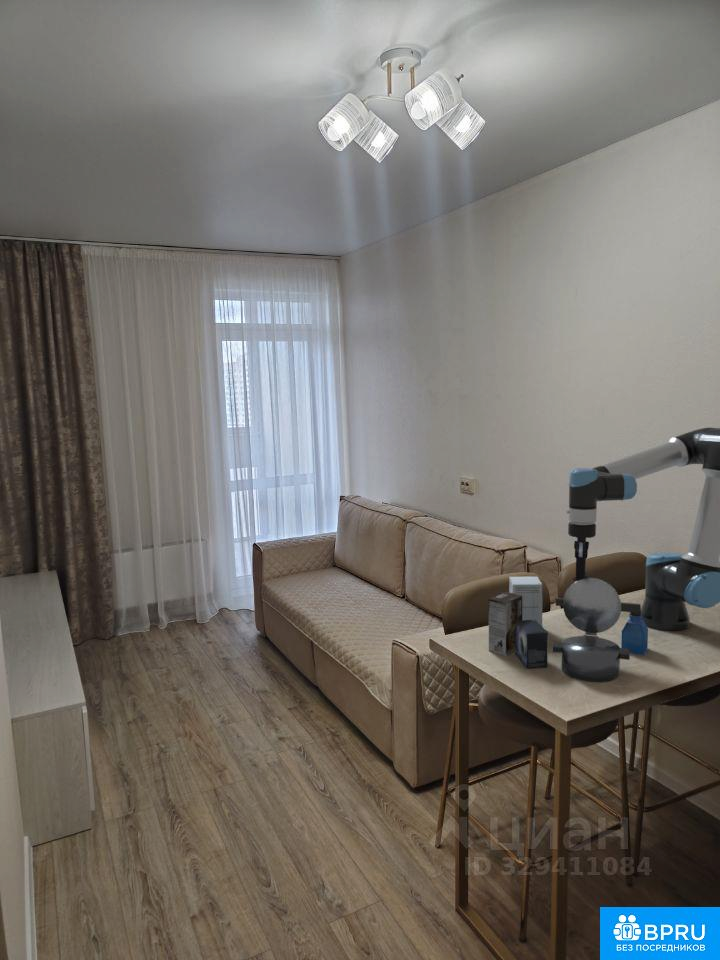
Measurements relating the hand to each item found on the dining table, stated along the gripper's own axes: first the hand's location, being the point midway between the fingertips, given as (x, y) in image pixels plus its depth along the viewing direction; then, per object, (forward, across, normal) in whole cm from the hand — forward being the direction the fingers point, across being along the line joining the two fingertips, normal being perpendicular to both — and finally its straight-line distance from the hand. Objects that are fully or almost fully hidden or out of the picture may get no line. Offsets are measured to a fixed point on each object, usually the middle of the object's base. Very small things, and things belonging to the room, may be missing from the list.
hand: (579, 601), depth 192 cm
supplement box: (+15, -12, -17) cm, 25 cm away
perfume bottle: (+15, -5, +15) cm, 22 cm away
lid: (0, +5, +5) cm, 7 cm away
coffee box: (+15, +5, -20) cm, 26 cm away
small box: (+15, +12, -12) cm, 23 cm away
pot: (+15, +14, +4) cm, 21 cm away
